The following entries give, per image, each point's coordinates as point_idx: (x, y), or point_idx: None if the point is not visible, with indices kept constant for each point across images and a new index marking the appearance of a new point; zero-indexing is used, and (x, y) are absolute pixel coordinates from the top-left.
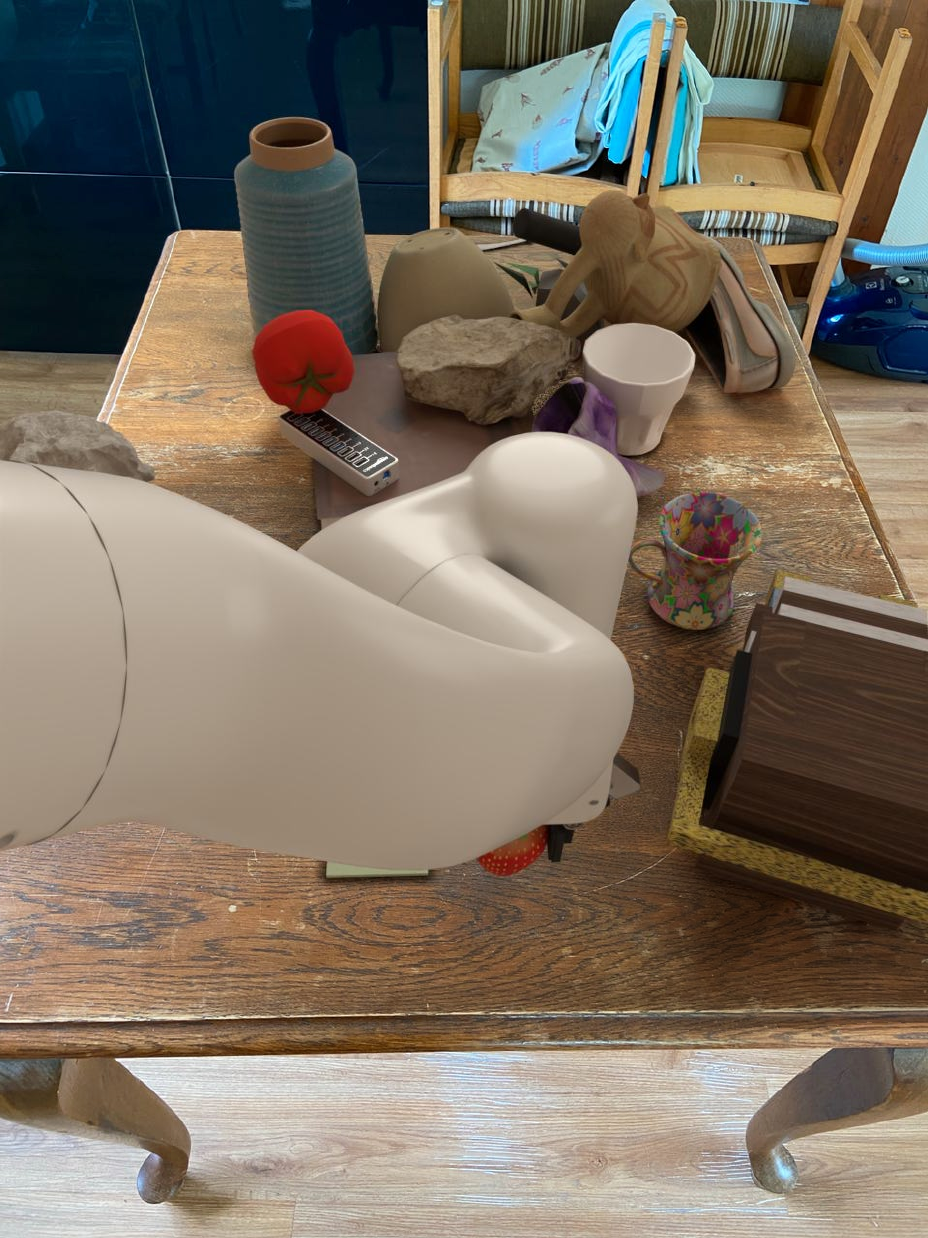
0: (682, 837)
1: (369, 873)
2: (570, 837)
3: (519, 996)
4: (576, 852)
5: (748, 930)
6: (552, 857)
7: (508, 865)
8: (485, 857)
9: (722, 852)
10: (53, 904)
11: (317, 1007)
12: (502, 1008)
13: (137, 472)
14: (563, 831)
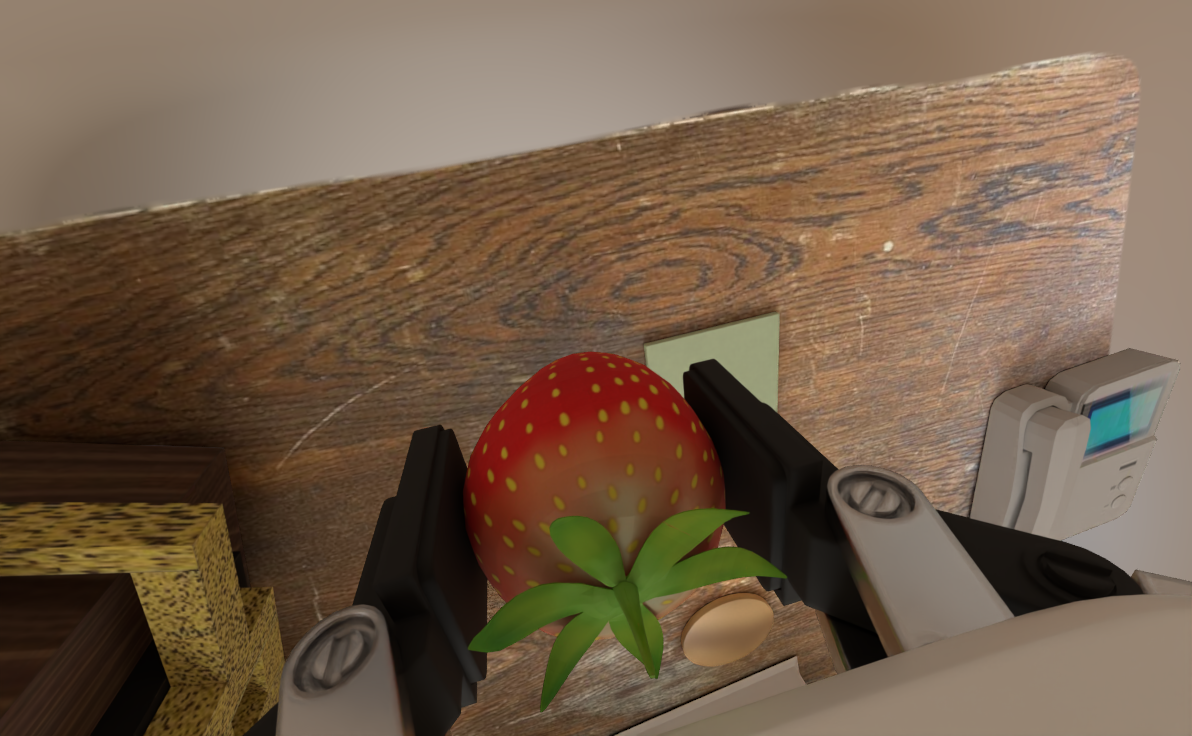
0: (166, 534)
1: (724, 329)
2: (381, 530)
3: (476, 184)
4: (434, 424)
5: (98, 369)
6: (438, 442)
7: (584, 387)
8: (667, 395)
9: (56, 526)
10: (1084, 210)
11: (777, 118)
12: (500, 159)
13: None
14: (387, 590)
